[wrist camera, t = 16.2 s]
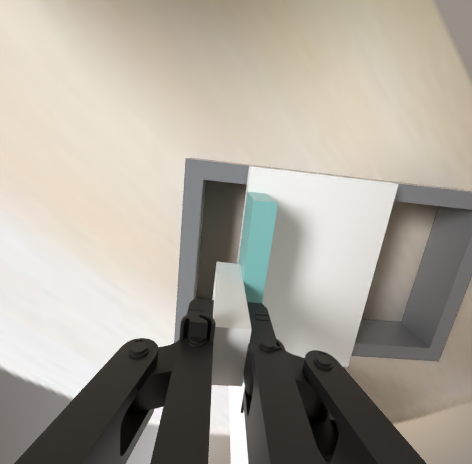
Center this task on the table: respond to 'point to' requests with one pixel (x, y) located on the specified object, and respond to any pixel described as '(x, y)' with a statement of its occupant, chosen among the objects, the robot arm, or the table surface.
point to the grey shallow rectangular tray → (425, 286)
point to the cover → (312, 254)
